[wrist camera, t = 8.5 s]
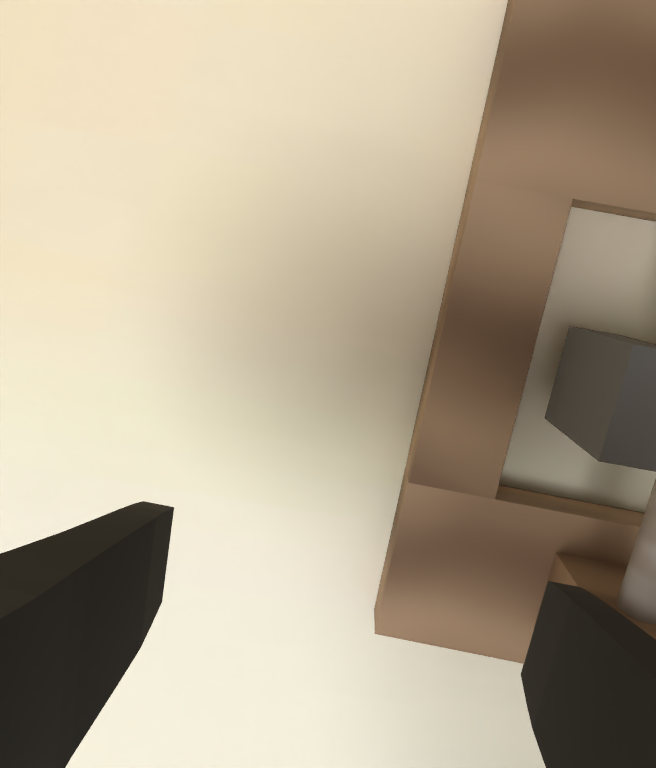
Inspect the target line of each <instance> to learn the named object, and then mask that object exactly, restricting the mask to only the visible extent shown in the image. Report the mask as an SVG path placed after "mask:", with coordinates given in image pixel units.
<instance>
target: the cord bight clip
mask: <svg viewBox="0 0 656 768" xmlns="http://www.w3.org/2000/svg"><path fill="white" fill-rule="evenodd" d="M545 419H546V420H548V421H549V422H550V423H551V424H553V425H554V426H555V427H556V428H558V429H559V430H560V431H561V432H563V433H564V434H565V435H566V436H568V437H569V438H570V439H571V440H573V441H574V442H575V443H576V444H578V445H579V446H580V447H581V448H583V449H584V450H585V451H586V452H588V453H589V454H590V455H592V456H593V457H594V458H595V459H597V460H598V461H601V462H606V463H612V464H617V465H623V466H628V467H634V468H639V469H645V470H650V471H656V345H655V344H651V343H647V342H643V341H640V340H636V339H632V338H629V337H625V336H621V335H616V334H611V333H605V332H600V331H594V330H589V329H583V328H578V327H572V326H569V330H568V334H567V338H566V341H565V345H564V349H563V352H562V356H561V360H560V363H559V367H558V371H557V374H556V378H555V382H554V385H553V389H552V393H551V397H550V400H549V404H548V408H547V411H546V415H545Z"/></svg>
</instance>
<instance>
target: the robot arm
mask: <svg viewBox="0 0 656 768" xmlns="http://www.w3.org/2000/svg"><path fill="white" fill-rule="evenodd" d="M173 511H174V507H169V506H164V505H159V504H154V503H149V502H144V501H143V502H139V503H135V504H132V505H129V506H127V507H124V508H121V509H119V510H116V511H114V512H111V513H109V514H106V515H104V516H101V517H99V518H97V519H94V520H92V521H89V522H86V523H84V524H81V525H79V526H76V527H74V528H71V529H69V530H66V531H64V532H61V533H59V534H56V535H53V536H50V537H47V538H44V539H42V540H39V541H36V542H33V543H30V544H27V545H24V546H22V547H19V548H16V549H13V550H10V551H7V552H4V553H1V554H0V768H65V767H66V765H67V763H68V762H69V760H70V758H71V757H72V755H73V754H74V752H75V750H76V749H77V747H78V746H79V744H80V743H81V741H82V740H83V738H84V736H85V735H86V733H87V732H88V730H89V729H90V727H91V725H92V724H93V722H94V721H95V719H96V718H97V716H98V714H99V713H100V711H101V710H102V708H103V707H104V705H105V704H106V702H107V700H108V699H109V697H110V696H111V694H112V693H113V691H114V689H115V688H116V686H117V685H118V683H119V682H120V680H121V678H122V677H123V675H124V674H125V672H126V670H127V669H128V667H129V666H130V664H131V662H132V661H133V659H134V658H135V656H136V654H137V653H138V651H139V650H140V648H141V646H142V644H143V642H144V639H145V637H146V635H147V633H148V631H149V629H150V627H151V625H152V623H153V620H154V618H155V616H156V614H157V612H158V609H159V607H160V605H161V603H162V597H163V589H164V581H165V573H166V565H167V558H168V550H169V542H170V534H171V526H172V519H173ZM521 677H522V682H523V687H524V692H525V697H526V702H527V707H528V711H529V716H530V720H531V724H532V728H533V731H534V734H535V737H536V740H537V743H538V746H539V749H540V752H541V755H542V758H543V760H544V763H545V766H546V768H656V639H654V638H653V637H652V636H650V635H649V634H648V633H646V632H645V631H644V630H642V629H641V628H640V627H638V626H637V625H636V624H634V623H633V622H631V621H630V620H629V619H627V618H626V617H625V616H623V615H622V614H621V613H619V612H618V611H617V610H615V609H614V608H612V607H611V606H610V605H608V604H607V603H605V602H604V601H602V600H601V599H599V598H598V597H596V596H595V595H593V594H592V593H590V592H588V591H587V590H585V589H583V588H581V587H577V586H572V585H567V584H562V583H557V582H552V581H548V583H547V586H546V590H545V593H544V597H543V600H542V603H541V607H540V610H539V614H538V617H537V621H536V624H535V627H534V631H533V634H532V638H531V641H530V645H529V648H528V651H527V655H526V658H525V662H524V665H523V669H522V672H521Z"/></svg>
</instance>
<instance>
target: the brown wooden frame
mask: <svg viewBox="0 0 656 768" xmlns="http://www.w3.org/2000/svg"><path fill="white" fill-rule="evenodd" d="M571 206H572V207H578V208H583V209H589V210H594V211H600V212H606V213H611V214H617V215H623V216H628V217H634V218H639V219H645V220H651V221H656V0H508V4H507V9H506V14H505V18H504V23H503V27H502V32H501V36H500V41H499V45H498V50H497V54H496V59H495V64H494V68H493V73H492V77H491V82H490V86H489V91H488V95H487V100H486V104H485V109H484V113H483V118H482V123H481V127H480V132H479V136H478V141H477V145H476V150H475V154H474V159H473V163H472V168H471V173H470V177H469V182H468V186H467V191H466V195H465V200H464V204H463V209H462V213H461V218H460V222H459V227H458V232H457V236H456V241H455V245H454V250H453V254H452V259H451V263H450V268H449V272H448V277H447V281H446V286H445V291H444V295H443V300H442V304H441V309H440V313H439V318H438V322H437V327H436V331H435V336H434V341H433V345H432V350H431V354H430V359H429V363H428V368H427V372H426V377H425V381H424V386H423V390H422V395H421V400H420V404H419V409H418V413H417V418H416V422H415V427H414V431H413V436H412V440H411V445H410V450H409V454H408V459H407V463H406V468H405V472H404V477H403V481H402V486H401V490H400V495H399V499H398V504H397V509H396V513H395V518H394V522H393V527H392V531H391V536H390V540H389V545H388V549H387V554H386V559H385V563H384V568H383V572H382V577H381V581H380V586H379V590H378V595H377V599H376V604H375V608H374V618H375V634H379V635H384V636H389V637H394V638H399V639H404V640H409V641H414V642H419V643H424V644H429V645H434V646H439V647H444V648H449V649H454V650H459V651H464V652H469V653H474V654H479V655H484V656H489V657H494V658H499V659H504V660H509V661H514V662H519V663H524V662H525V658H526V655H527V651H528V648H529V645H530V641H531V638H532V634H533V631H534V627H535V624H536V621H537V617H538V614H539V610H540V607H541V603H542V600H543V597H544V593H545V590H546V586H547V583H548V581H552V582H557V583H562V584H567V585H572V586H577V587H581V588H583V589H585V590H587V591H588V592H590V593H592V594H593V595H595V596H596V597H598V598H599V599H601V600H602V601H604V602H605V603H607V604H608V605H610V606H611V607H612V608H614V609H615V610H617V611H618V612H619V613H621V614H622V615H623V616H625V617H626V618H627V619H629V620H630V621H631V622H633V623H634V624H636V625H637V626H638V627H640V628H641V629H642V630H644V631H645V632H646V633H648V634H649V635H650V636H652V637H653V638H654V639H656V480H655V483H654V486H653V489H652V492H651V495H650V498H649V501H648V505H647V508H646V511H645V513H640V512H635V511H630V510H625V509H619V508H614V507H609V506H604V505H598V504H593V503H588V502H583V501H578V500H572V499H567V498H562V497H557V496H552V495H546V494H541V493H536V492H531V491H526V490H520V489H515V488H510V487H505V486H499V481H500V477H501V473H502V470H503V466H504V462H505V458H506V454H507V450H508V447H509V443H510V439H511V435H512V431H513V427H514V423H515V420H516V416H517V412H518V408H519V404H520V400H521V397H522V393H523V389H524V385H525V381H526V377H527V373H528V370H529V366H530V362H531V358H532V354H533V350H534V346H535V343H536V339H537V335H538V331H539V327H540V323H541V320H542V316H543V312H544V308H545V304H546V300H547V296H548V293H549V289H550V285H551V281H552V277H553V273H554V270H555V266H556V262H557V258H558V254H559V250H560V246H561V243H562V239H563V235H564V231H565V227H566V223H567V220H568V216H569V212H570V208H571Z"/></svg>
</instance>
